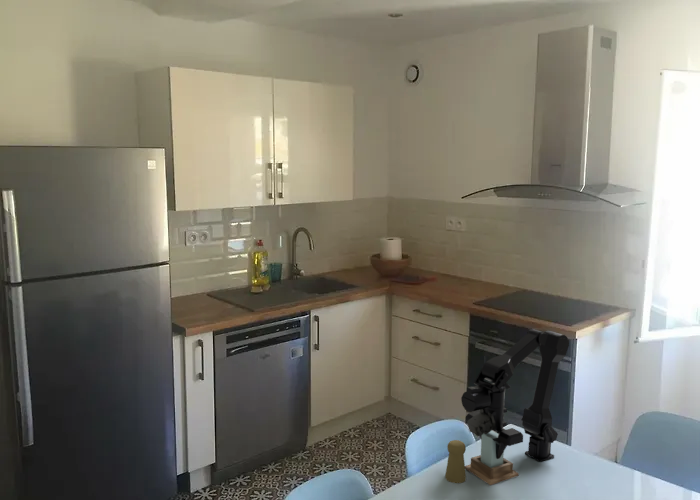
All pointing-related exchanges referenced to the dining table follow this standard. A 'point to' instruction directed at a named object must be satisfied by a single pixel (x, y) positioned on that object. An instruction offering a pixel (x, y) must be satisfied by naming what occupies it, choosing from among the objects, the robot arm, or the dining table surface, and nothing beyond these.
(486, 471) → the walnut socket
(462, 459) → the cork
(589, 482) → the dining table surface
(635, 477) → the dining table surface
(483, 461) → the painted peg
